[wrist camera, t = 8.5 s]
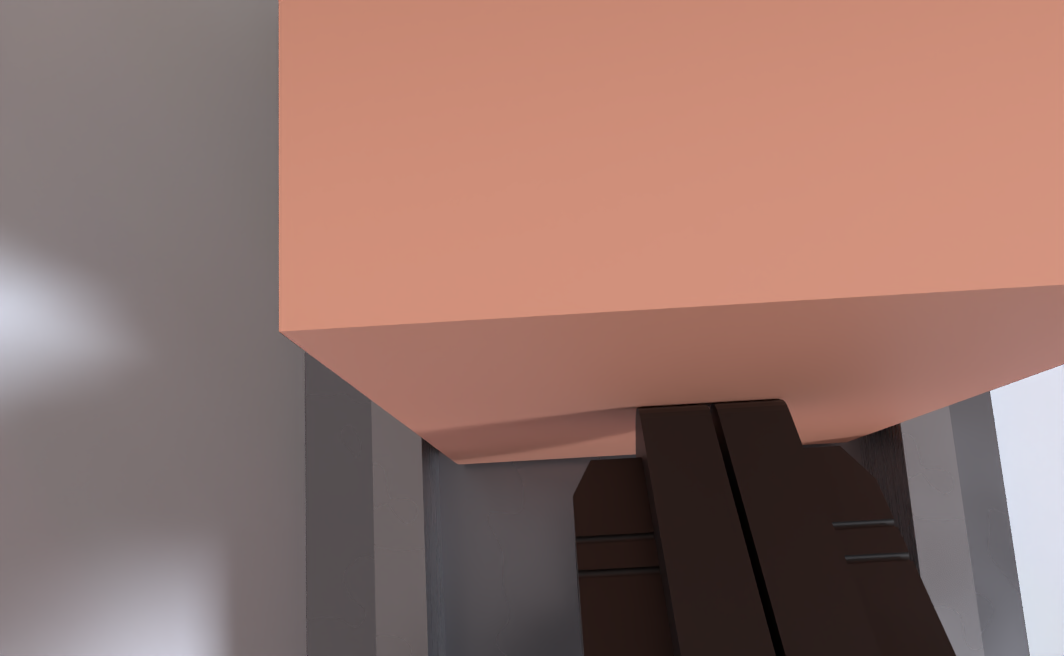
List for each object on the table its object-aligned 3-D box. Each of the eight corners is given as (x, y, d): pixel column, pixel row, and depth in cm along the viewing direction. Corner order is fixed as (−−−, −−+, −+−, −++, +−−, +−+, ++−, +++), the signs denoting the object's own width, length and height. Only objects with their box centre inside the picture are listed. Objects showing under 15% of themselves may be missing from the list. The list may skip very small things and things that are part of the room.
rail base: (1032, 949, 16) (1244, 1132, 11) (333, 982, 16) (229, 1176, 11) (889, -45, 19) (999, -243, 14) (321, -7, 20) (241, -190, 15)
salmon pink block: (846, 442, 15) (1327, 268, 6) (457, 464, 16) (279, 331, 6) (803, 82, 17) (1137, -565, 7) (443, 104, 17) (278, -501, 7)
